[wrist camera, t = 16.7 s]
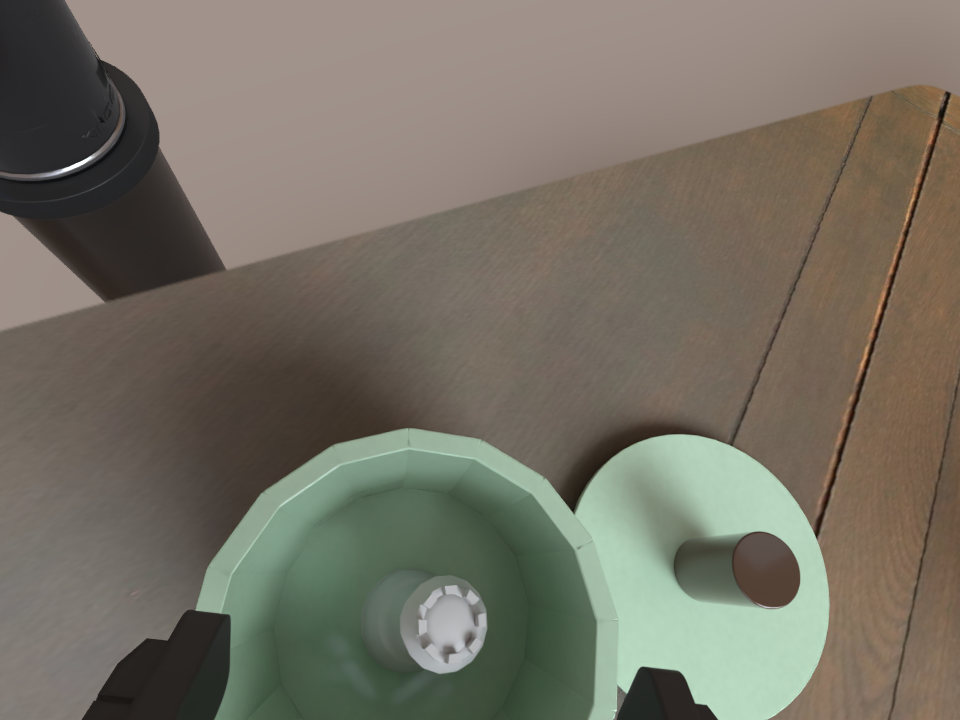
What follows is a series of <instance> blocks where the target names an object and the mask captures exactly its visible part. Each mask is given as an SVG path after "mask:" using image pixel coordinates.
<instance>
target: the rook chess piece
mask: <svg viewBox="0 0 960 720" xmlns="http://www.w3.org/2000/svg"><path fill="white" fill-rule="evenodd" d="M487 628H488V627H487V614H486V608H485V605H484V603H483V601H482V599H481V596H480V594H479V592H478V591H477V590H476V589H474V588H473V587H472V586H471V585H470V584H469V583H468V582H467V581H466V580H463V579H460V578H458V577H455V576H452V575H447V576H436V575H434V574H432V573H429V572H426V571H424V570H421V569H416V568H415V569H400V570H396V571H394V572H392V573H390V574H389V575H387V576H385V577H383V578H381V579H380V580H379V581H378V583H377V584H376V585H375V586H374V587H373V588H372V590H371V591H370V592H369V593H368V595H367V598H366V600H365V603H364V606H363V608H362V611H361V636H362V639H363V641H364V644H365V646H366V649H367V651H368V653H369V654H370V655H371V656H372V657H373V658H374V659H375V660H376V661H377V662H378V663H379V664H380V665H381V666H382V667H384V668H387V669H390V670H393V671H396V672H398V673H410V672H418V671H423V670H425V669H427V670H430V671H433V672H436V673H439V674H441V673H449V672H456V671H458V670H460V669H461V668H463V667H464V666H466V665H467V664H469V663H471V662H472V661H473V659H474V658H475V656H476V655H477V654H478V652H479V651H480V649H481V648H482V646H483V643H484V639H485V635H486V632H487Z"/></svg>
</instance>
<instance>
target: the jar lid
mask: <svg viewBox="0 0 960 720" xmlns="http://www.w3.org/2000/svg"><path fill="white" fill-rule="evenodd" d="M573 514H574V515H575V516H576V518H577V519H578V520H579V521H580V523H581V524H582V525H583V527H584V528H585V529H586V530H587V532H588V533H589V534H590V536H591V537H592V540H593V542H594V544H595V547H596V551H597V554H598V557H599V560H600V563H601V566H602V569H603V572H604V576H605V579H606V582H607V585H608V588H609V591H610V594H611V597H612V601H613V604H614V607H615V610H616V613H617V616H618V619H617V620H619V639H618V677H617V686H618V687H619V688H620V689H621V690H622V691H623V692H624V693H625V694H626V695H627V693H628V691H629V689H630V687H631V684H632V682H633V680H634V678H635V675H636V673H637V671H638V669H639V668H640V667H643V666H644V667H653V668H661V669H669V670H677V671H680V672H681V673H682V674H683V675H684V677H685V679H686V681H687V683H688V686H689V689H690V691H691V694H692V696H693V699H694V701H695V704H703V705H708V707H709V708H710V709H711V711H712V712H713V713H714V715H715V716H716V717H717V719H718V720H767V719H769V718H771V717H773V716H775V715H776V714H777V713H779V712H780V711H781V710H783V709H784V708H785V707H786V706H788V705H789V704H790V703H791V702H792V701H793V700H794V699H795V698H796V697H797V696H798V694H799V693H800V692H801V691H802V690H803V688H804V687H805V685H806V684H807V682H808V681H809V679H810V678H811V676H812V674H813V672H814V670H815V668H816V666H817V664H818V662H819V659H820V656H821V653H822V650H823V647H824V644H825V639H826V634H827V629H828V621H829V587H828V581H827V575H826V569H825V565H824V561H823V557H822V554H821V550H820V548H819V545H818V542H817V540H816V537H815V535H814V532H813V530H812V528H811V526H810V524H809V522H808V520H807V518H806V516H805V515H804V513H803V511H802V510H801V508H800V507H799V505H798V504H797V502H796V500H795V499H794V498H793V497H792V495H791V494H790V493H789V492H788V490H787V489H786V488H785V487H784V485H783V484H782V483H781V482H780V481H779V480H778V479H777V478H776V477H775V476H774V475H773V474H772V473H771V472H770V471H768V470H767V469H766V468H765V467H764V466H762V465H761V464H760V463H759V462H757V461H756V460H754V459H753V458H751V457H750V456H748V455H747V454H745V453H744V452H742V451H740V450H738V449H736V448H734V447H732V446H730V445H728V444H725V443H722V442H720V441H717V440H714V439H710V438H706V437H702V436H697V435H687V434H670V435H662V436H657V437H651V438H648V439H645V440H643V441H640V442H637V443H635V444H633V445H631V446H629V447H627V448H625V449H623V450H621V451H620V452H618V453H617V454H616V455H614V456H613V457H611V458H610V459H609V460H608V461H607V462H606V463H605V464H603V465H602V466H601V467H600V468H599V469H598V470H597V471H596V473H595V474H594V475H593V477H592V478H591V479H590V481H589V482H588V483H587V485H586V487H585V488H584V490H583V492H582V494H581V495H580V497H579V499H578V502H577V504H576V507H575V509H574V512H573Z"/></svg>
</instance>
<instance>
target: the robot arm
mask: <svg viewBox="0 0 960 720" xmlns="http://www.w3.org/2000/svg"><path fill="white" fill-rule="evenodd" d="M89 43H90V42H88V40H87V39H86V37H85V35H84V33H83V32H82V30H81V28H80V27H79V25H78V23H77V21H76V19H75V18H74V16H73V14H72V12H71V11H70V9H69V7H68V5H67V4H66V2H65V0H0V179H1V180H5V181H9V182H15V183H24V184H41V183H50V182H56V181H61V180H65V179H68V178H72V177H74V176H77V175H80V174H82V173H84V172H86V171H88V170H90V169H92V168H93V167H95V166H97V165H98V164H100V163H101V162H102V161H103V160H105V159H106V158H107V157H108V156H109V155H110V154H111V153H112V152H113V151H114V150H115V149H116V147H117V146H118V145H119V143H120V141H121V140H122V138H123V135H124V133H125V130H126V126H127V110H126V106H125V103H124V101H123V99H122V97H121V95H120V93H119V92H118V90H117V88H116V87H115V86H116V85H114V84H115V83H114V84H113V82H112V81H113V80H112V81H111V80H110V79H109V78H108V76H107V74H106V72H105V71H104V69H103V67H102V65H103V63H102V61H101V60H100V58H99V57H98V58H99V60H100V62H101V63H102V65H101V64H100V62H99V60H98V58H97V57H96V55H95V53H96V52H95V53H94V51H95V50H94V49H92V48H91V46H90V44H89ZM93 50H94V51H93ZM96 54H97V53H96ZM97 56H98V55H97ZM103 66H104V65H103ZM104 68H105V66H104ZM105 70H106V68H105ZM106 71H107V70H106ZM107 73H108V71H107ZM108 74H109V73H108ZM109 76H110V74H109ZM110 78H111V76H110ZM111 79H112V78H111ZM230 644H231V617H230V615H229V614H220V613H212V612H204V611H196V610H188V611H186V612H185V613H184V614H183V616H182V617H181V619H180V620H179V622H178V624H177V625H176V627H175V629H174V631H173V632H172V634H171V636H170V638H169V639H168V641H165V640H157V639H148V638H147V639H146V640H145V641H143V642H142V643H141V644H140V645H139V646H138V647H136V648H135V649H134V650H133V651H132V652H131V653H130V654H128V655H127V656H126V657H125V658H124V659H123V660H121V661H120V662H119V663H118V664H117V666H116V667H115V669H114V670H113V672H112V673H111V675H110V677H109V678H108V680H107V681H106V683H105V684H104V686H103V687H102V689H101V691H100V692H99V694H98V697H97V699H96V701H93V703H92V705H91V706H90V708H89V709H88V711H87V712H86V714H85V715H84V717H83V719H82V720H215V717H216V715H217V712H218V710H219V708H220V705H221V703H222V700H223V697H224V694H225V690H226V687H227V683H228V678H229V672H230ZM617 720H718V719H717V717H716V716H715V715H714V713H713V712H712V711H711V709H710V708H709V707H708V705H703V704H695V701H694V699H693V696H692V694H691V691H690V689H689V686H688V683H687V681H686V679H685V677H684V675H683V674H682V673H681V672H680V671H677V670H669V669H661V668H653V667H644V666H643V667H640V668H639V669H638V671H637V673H636V675H635V678H634V680H633V682H632V684H631V687H630V689H629V691H628V693H627V696H626V698H625V700H624V702H623V705H622V707H621V709H620V711H619V714H618V718H617Z"/></svg>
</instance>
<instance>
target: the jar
mask: <svg viewBox="0 0 960 720" xmlns="http://www.w3.org/2000/svg"><path fill="white" fill-rule="evenodd" d="M415 568H416V569H421V570H424V571H426V572H429V573H432V574H434V575H436V576H447V575H452V576H455V577H458V578H460V579H463V580H466V581H467V582H468V583H469V584H470V585H471V586H472V587H473V588H474V589H476V590H477V591H478V592H479V594H480V596H481V599H482V601H483V603H484V605H485V608H486V614H487V627H488V628H487V632H486V635H485V639H484V643H483V646H482V648H481V649H480V651H479V652H478V654H477V655H476V656H475V658H474V659H473V661H472V662H471V663H469V664H467V665H466V666H464V667H463V668H461V669H460V670H458V671H456V672H449V673H441V674H439V673H436V672H433V671H430V670H427V669H425V670H423V671H418V672H410V673H398V672H396V671H393V670H390V669H387V668H384V667H382V666H381V665H380V664H379V663H378V662H377V661H376V660H375V659H374V658H373V657H372V656H371V655H370V654H369V653H368V651H367V649H366V646H365V644H364V641H363V639H362V636H361V611H362V608H363V606H364V603H365V600H366V598H367V595H368V593H369V592H370V591H371V590H372V588H373V587H374V586H375V585H376V584H377V583H378V581H379V580H380V579H381V578H383V577H385V576H387V575H389V574H390V573H392V572H394V571H396V570H400V569H415ZM195 610H196V611H204V612H212V613H220V614H229V615H230V617H231V644H230V672H229V678H228V683H227V687H226V690H225V694H224V697H223V700H222V703H221V705H220V708H219V710H218V712H217V715H216V717H215V720H613V719H614V717H615V713H616V710H617V677H618V639H619V620H617V619H618V616H617V613H616V610H615V607H614V604H613V601H612V597H611V594H610V591H609V588H608V585H607V582H606V579H605V576H604V572H603V569H602V566H601V563H600V560H599V557H598V554H597V551H596V547H595V544H594V542H593V540H592V537H591V536H590V534H589V533H588V532H587V530H586V529H585V528H584V527H583V525H582V524H581V523H580V521H579V520H578V519H577V518H576V516H575V515H574V514H573V512H572V511H571V510H570V508H569V507H568V506H567V505H566V503H565V502H564V501H563V499H562V498H561V497H560V496H559V494H558V493H557V492H556V490H555V489H554V488H553V487H552V485H551V484H550V483H549V481H548V480H547V479H546V478H544V477H543V476H542V475H540V474H539V473H537V472H535V471H534V470H532V469H530V468H529V467H527V466H525V465H524V464H522V463H520V462H519V461H517V460H515V459H514V458H512V457H510V456H509V455H507V454H505V453H504V452H502V451H500V450H499V449H497V448H495V447H494V446H492V445H490V444H489V443H487V442H485V441H484V440H481V439H479V438H473V437H467V436H460V435H454V434H448V433H441V432H435V431H429V430H423V429H416V428H402V429H398V430H394V431H389V432H385V433H381V434H376V435H372V436H367V437H363V438H359V439H354V440H350V441H345V442H341V443H337V444H334V445H333V446H330V447H328V448H327V449H325V450H324V451H322V452H321V453H319V454H318V455H316V456H315V457H313V458H312V459H310V460H309V461H307V462H306V463H304V464H303V465H301V466H300V467H298V468H297V469H295V470H294V471H292V472H291V473H289V474H288V475H286V476H285V477H283V478H282V479H280V480H279V481H277V482H276V483H274V484H273V485H271V486H270V487H268V488H267V489H265V490H264V492H262V493H261V494H260V495H259V496H258V498H257V499H256V501H255V502H254V503H253V505H252V506H251V507H250V509H249V510H248V512H247V513H246V514H245V516H244V517H243V518H242V520H241V521H240V522H239V524H238V525H237V527H236V528H235V529H234V531H233V532H232V533H231V535H230V536H229V538H228V539H227V540H226V542H225V543H224V544H223V546H222V547H221V549H220V550H219V551H218V553H217V554H216V555H215V557H214V558H213V559H212V561H211V562H210V564H209V567H207V570H206V573H205V577H204V580H203V584H202V587H201V590H200V594H199V597H198V601H197V604H196V608H195Z"/></svg>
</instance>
